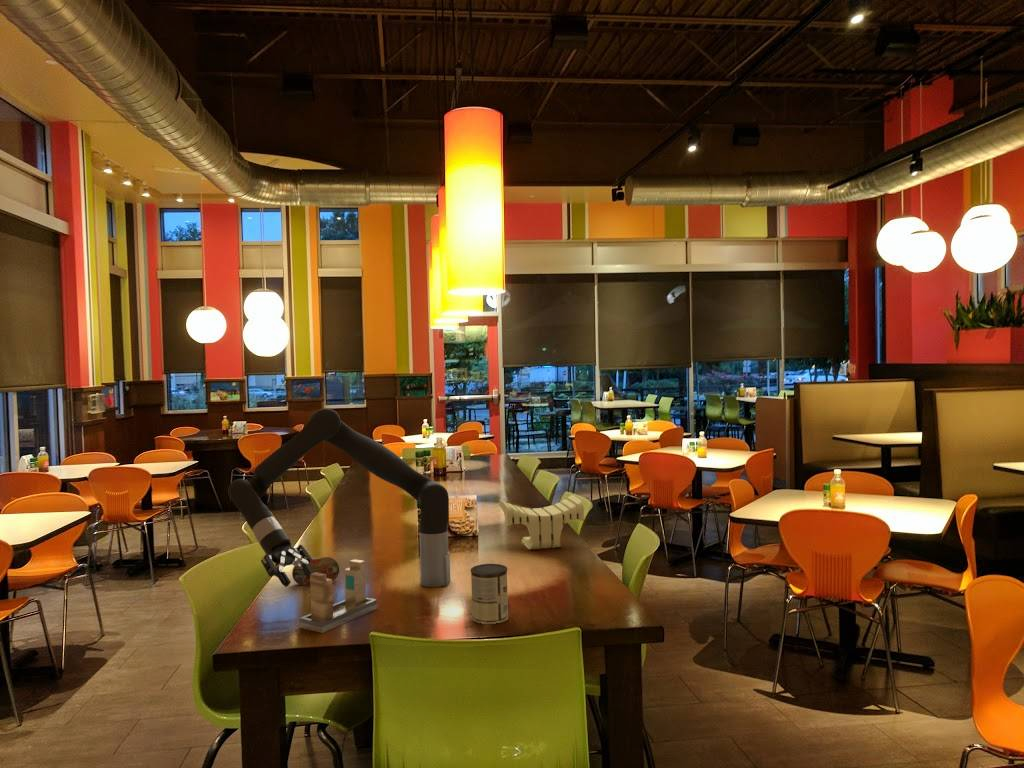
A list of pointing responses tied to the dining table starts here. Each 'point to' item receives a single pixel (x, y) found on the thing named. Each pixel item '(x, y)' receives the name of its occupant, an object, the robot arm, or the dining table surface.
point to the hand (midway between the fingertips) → (300, 580)
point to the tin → (317, 570)
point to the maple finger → (321, 597)
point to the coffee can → (489, 593)
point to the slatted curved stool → (544, 521)
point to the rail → (346, 601)
